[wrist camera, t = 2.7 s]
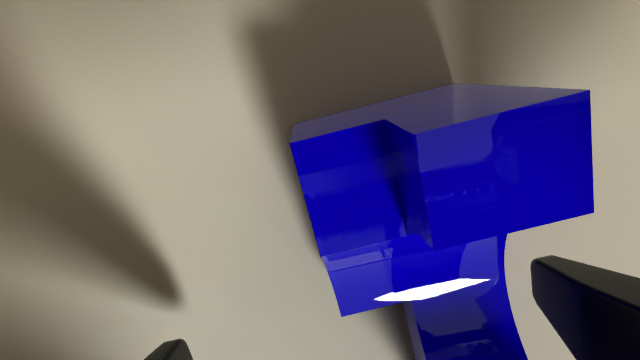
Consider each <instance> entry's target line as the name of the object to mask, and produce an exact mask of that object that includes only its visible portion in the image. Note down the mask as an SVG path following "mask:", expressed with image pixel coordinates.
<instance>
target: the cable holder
mask: <svg viewBox="0 0 640 360" xmlns="http://www.w3.org/2000/svg"><path fill="white" fill-rule="evenodd" d="M289 144H290V147H291V151H292V154H293V158H294V162H295V165H296V169H297V173H298V176H299V180H300V183H301V187H302V191H303V194H304V198H305V202H306V205H307V209H308V212H309V216H310V220H311V223H312V227H313V231H314V234H315V238H316V241H317V245H318V249H319V252H320V256H321V258H322V260H323V262H324V264H325V266H326V268H327V271H328V274H329V277H330V280H331V283H332V286H333V289H334V292H335V295H336V299H337V302H338V306H339V309H340V313H341V316H342V317H343V316H347V315H351V314H355V313H359V312H364V311H368V310H372V309H376V308H380V307H385V306H389V305H393V304H397V303H401V302H403V304H404V309H405V313H406V318H407V323H408V327H409V332H410V337H411V342H412V346H413V351H414V356H415V360H528V359H527V356H526V353H525V351H524V348H523V346H522V343H521V340H520V337H519V334H518V331H517V328H516V325H515V322H514V318H513V314H512V311H511V307H510V302H509V298H508V293H507V287H506V280H505V271H504V250H505V241H506V237H507V234H508V233H512V232H516V231H520V230H524V229H528V228H532V227H537V226H541V225H545V224H549V223H553V222H557V221H561V220H565V219H570V218H574V217H578V216H582V215H586V214H590V213H594V197H593V167H592V137H591V106H590V90H582V89H561V88H541V87H520V86H499V85H479V84H458V83H453V84H449V85H445V86H441V87H437V88H433V89H429V90H425V91H421V92H417V93H413V94H410V95H406V96H402V97H398V98H394V99H390V100H386V101H382V102H378V103H374V104H370V105H366V106H363V107H359V108H355V109H351V110H347V111H343V112H339V113H335V114H331V115H327V116H323V117H320V118H316V119H312V120H308V121H304V122H300V123H296V124H294V125H293V130H292V134H291V139H290V143H289Z"/></svg>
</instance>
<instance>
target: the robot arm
mask: <svg viewBox="0 0 640 360" xmlns="http://www.w3.org/2000/svg"><path fill="white" fill-rule="evenodd" d="M531 280H532V292H533V297H534V299H535V301H536V303H537V305H538V306H539V308H540V309H541V310H542V312H543V313H544V315H545V316H546V317H547V319H548V320H549V322H550V323H551V325H552V326H553V327H554V329H555V330H556V332H557V333H558V335H559V336H560V337H561V339H562V340H563V342H564V343H565V344H566V346H567V347H568V349H569V350H570V352H571V353H572V354H573V356H574V357H575V359H576V360H640V278H637V277H633V276H629V275H625V274H622V273H618V272H614V271H610V270H606V269H603V268H599V267H595V266H591V265H587V264H584V263H580V262H576V261H572V260H568V259H565V258H561V257H557V256H553V255H550V256H545V257H541V258H536V259H534V260H533V261H532V262H531ZM144 360H193V358H192V355H191V353H190V351H189V348H188V346H187V343H186V342H185V341H184V340H183V339H176V340H172V341H167V342H164V343H163V344H161V345H160V346H159V347H158V348H157V349H155V350H154V351H153V352H152V353H151V354H150V355H148V356H147V357H146V358H145V359H144Z"/></svg>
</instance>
